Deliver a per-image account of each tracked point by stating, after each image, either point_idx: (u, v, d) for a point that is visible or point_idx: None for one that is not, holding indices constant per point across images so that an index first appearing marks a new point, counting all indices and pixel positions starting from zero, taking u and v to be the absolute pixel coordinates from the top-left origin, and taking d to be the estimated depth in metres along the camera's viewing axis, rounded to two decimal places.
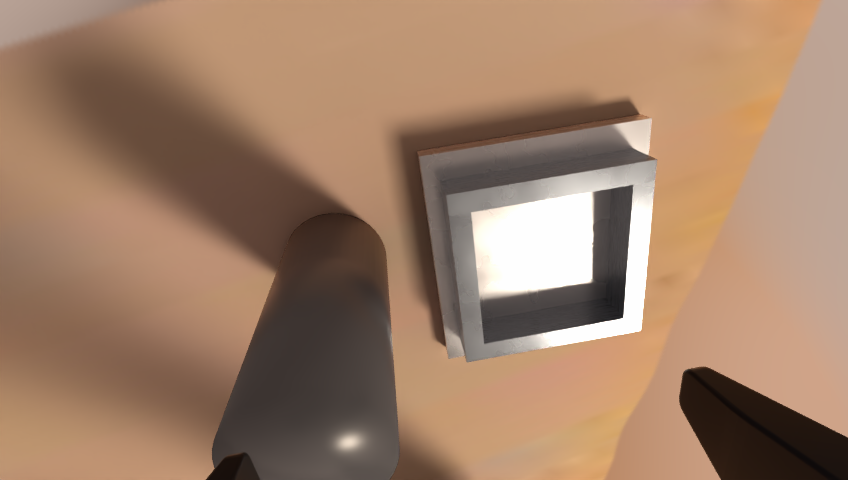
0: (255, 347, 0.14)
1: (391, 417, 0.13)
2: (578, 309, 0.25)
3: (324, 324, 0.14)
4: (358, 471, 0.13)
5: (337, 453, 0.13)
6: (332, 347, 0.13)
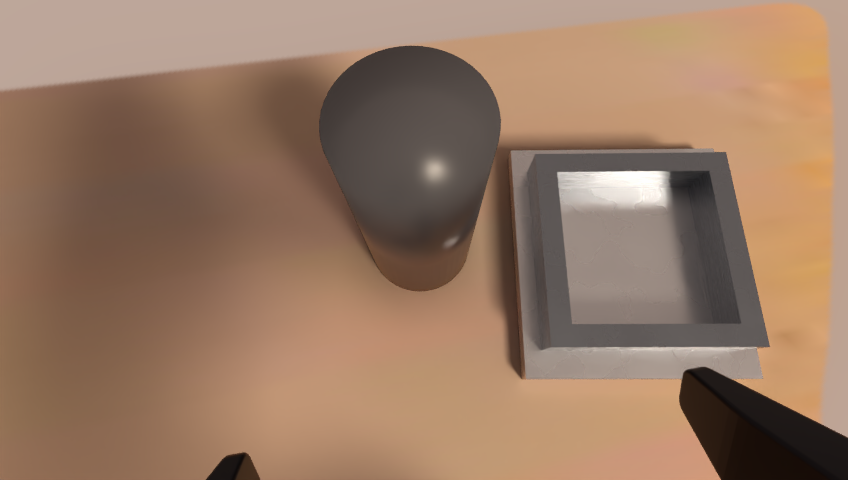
0: None
1: None
2: None
3: None
4: (453, 150, 0.13)
5: (438, 121, 0.13)
6: None
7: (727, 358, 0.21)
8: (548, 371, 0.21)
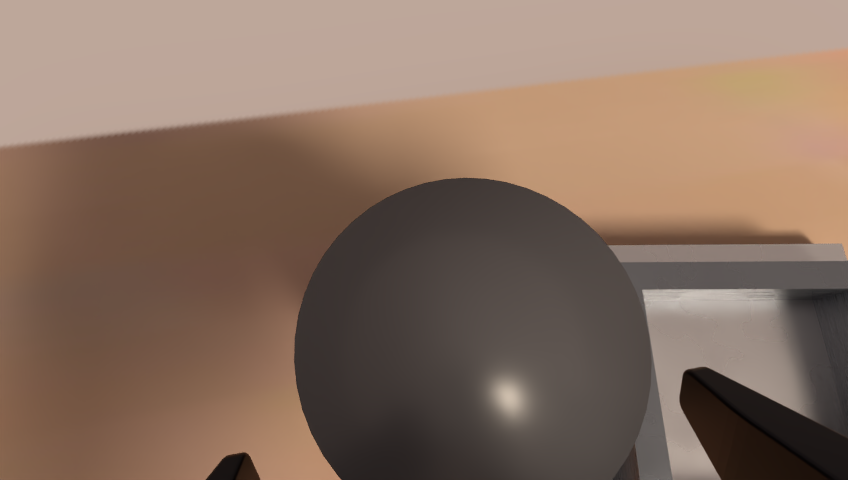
0: None
1: None
2: None
3: None
4: (562, 407, 0.06)
5: (527, 341, 0.07)
6: None
7: None
8: None
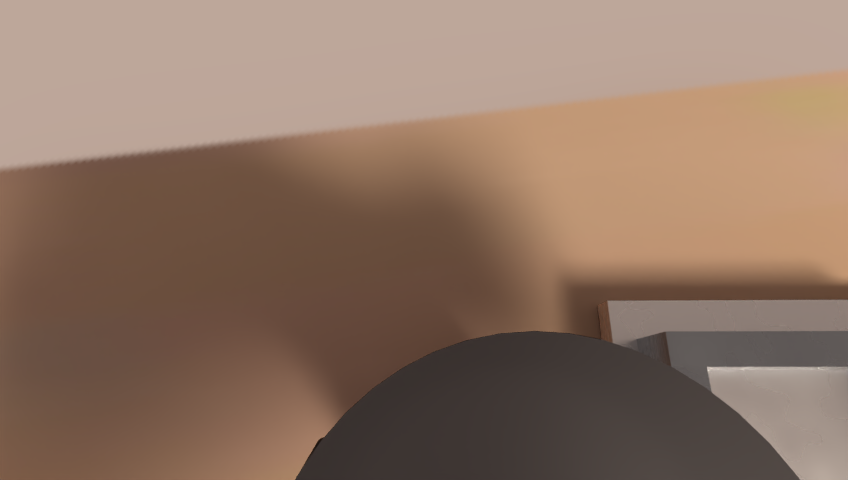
0: None
1: None
2: None
3: None
4: None
5: None
6: None
7: None
8: None
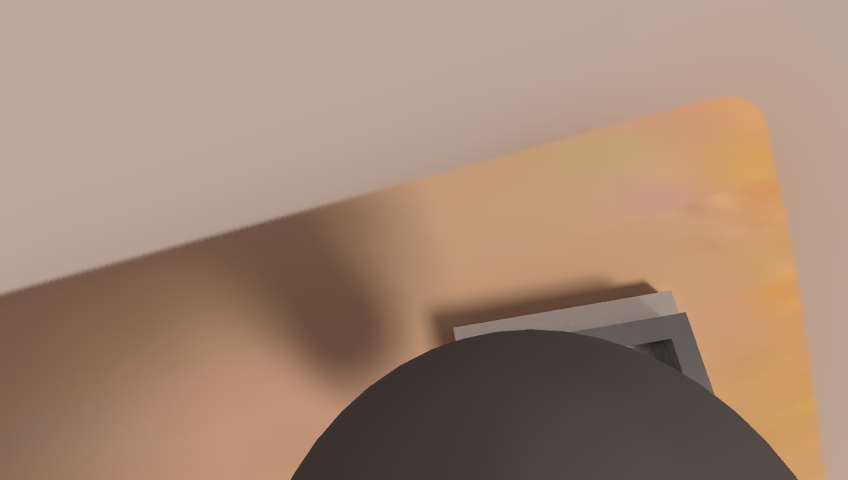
0: None
1: None
2: None
3: None
4: None
5: None
6: None
7: None
8: None
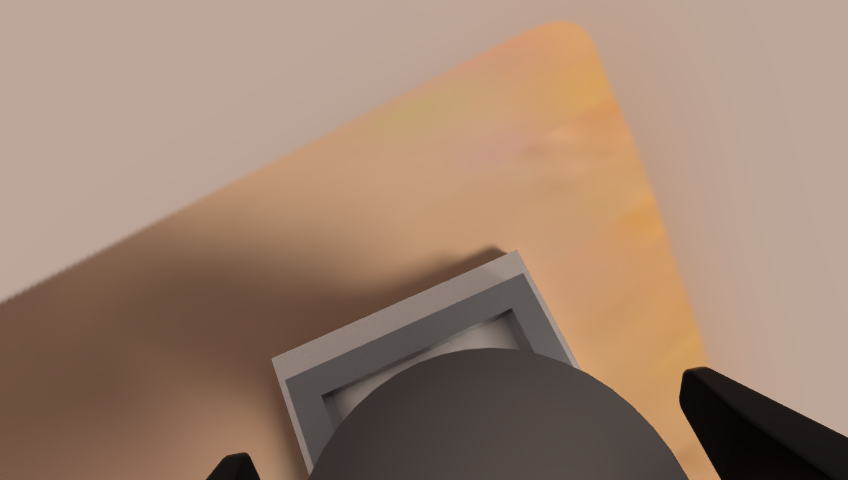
0: None
1: None
2: None
3: None
4: None
5: None
6: None
7: None
8: None
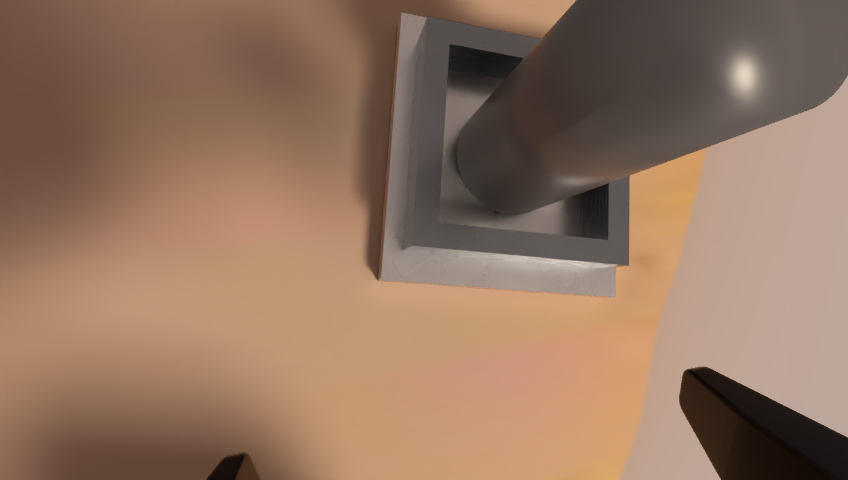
0: None
1: None
2: None
3: None
4: (792, 61, 0.09)
5: (790, 15, 0.09)
6: None
7: (588, 275, 0.21)
8: (407, 273, 0.19)
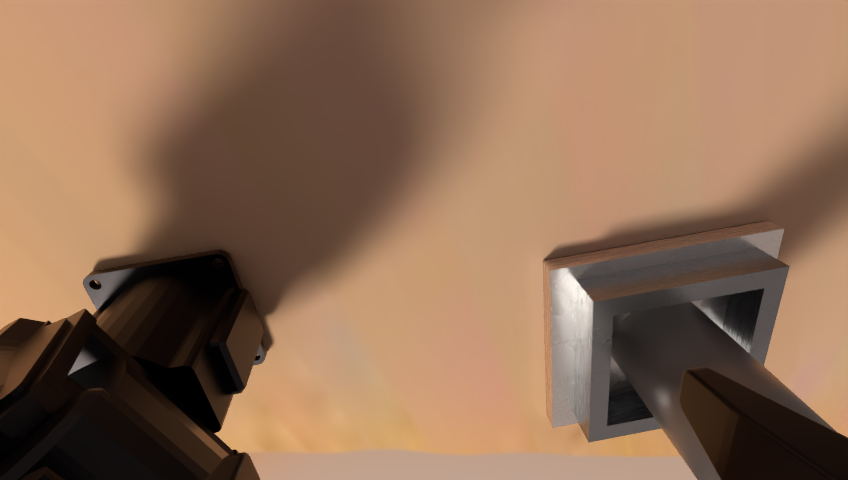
0: None
1: None
2: None
3: None
4: None
5: None
6: None
7: (567, 407, 0.26)
8: (556, 287, 0.23)
